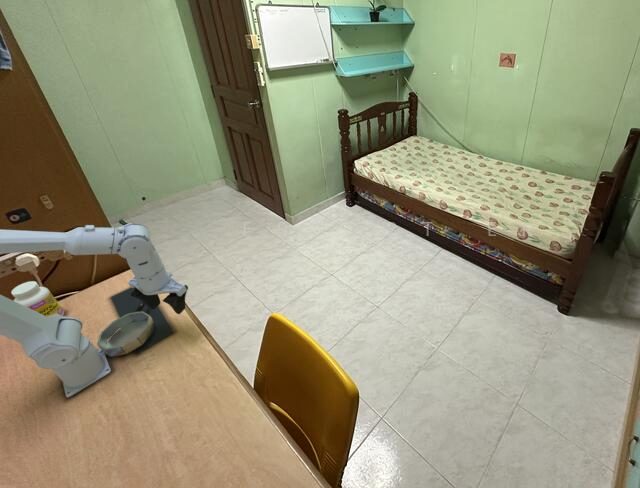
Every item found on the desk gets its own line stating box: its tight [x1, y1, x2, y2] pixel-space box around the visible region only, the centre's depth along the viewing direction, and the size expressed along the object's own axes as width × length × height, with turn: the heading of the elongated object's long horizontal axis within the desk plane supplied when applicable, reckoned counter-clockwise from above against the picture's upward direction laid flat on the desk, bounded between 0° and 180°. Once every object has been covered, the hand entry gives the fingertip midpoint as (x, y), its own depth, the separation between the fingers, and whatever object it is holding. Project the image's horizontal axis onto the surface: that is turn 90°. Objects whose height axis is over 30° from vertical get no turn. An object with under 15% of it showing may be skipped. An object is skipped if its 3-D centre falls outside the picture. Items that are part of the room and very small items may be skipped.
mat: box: [110, 287, 175, 355], centre depth 91 cm, size 28×8×1 cm, turn 50°
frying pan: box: [96, 302, 155, 358], centre depth 86 cm, size 19×11×4 cm, turn 11°
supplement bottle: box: [10, 280, 65, 317], centre depth 86 cm, size 7×7×13 cm
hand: (168, 308), depth 82 cm, fingers open, 7 cm apart
